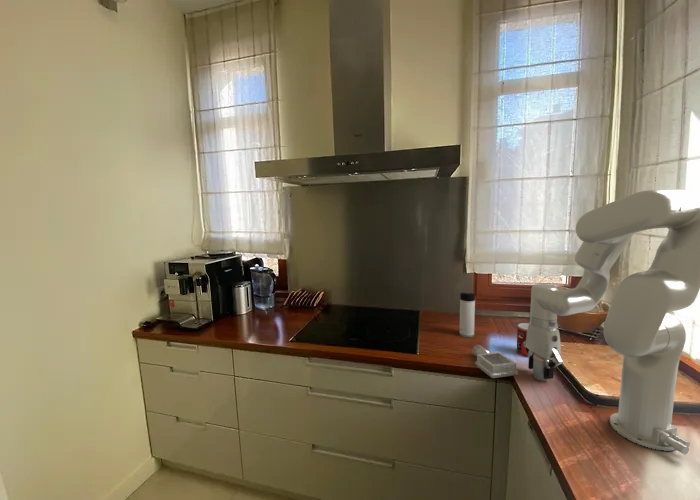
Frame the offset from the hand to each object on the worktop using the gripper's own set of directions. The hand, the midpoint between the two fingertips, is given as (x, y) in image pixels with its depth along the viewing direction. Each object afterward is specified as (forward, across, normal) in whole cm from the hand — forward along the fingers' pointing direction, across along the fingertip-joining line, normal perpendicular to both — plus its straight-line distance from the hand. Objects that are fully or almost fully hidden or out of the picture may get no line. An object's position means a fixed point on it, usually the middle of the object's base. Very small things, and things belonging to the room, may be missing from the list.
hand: (540, 372), depth 104 cm
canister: (+2, 0, 0) cm, 2 cm away
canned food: (+2, +16, -9) cm, 18 cm away
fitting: (+2, +11, +11) cm, 16 cm away
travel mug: (+2, +38, +4) cm, 38 cm away
